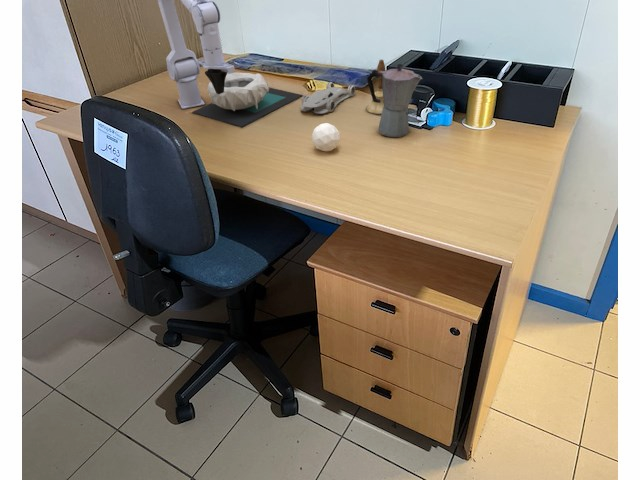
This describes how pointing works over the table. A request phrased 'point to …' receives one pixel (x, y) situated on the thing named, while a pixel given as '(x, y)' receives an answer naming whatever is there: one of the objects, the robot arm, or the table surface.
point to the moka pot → (394, 99)
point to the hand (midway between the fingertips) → (220, 92)
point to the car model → (326, 99)
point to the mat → (249, 108)
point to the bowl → (240, 91)
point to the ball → (325, 137)
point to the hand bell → (378, 93)
